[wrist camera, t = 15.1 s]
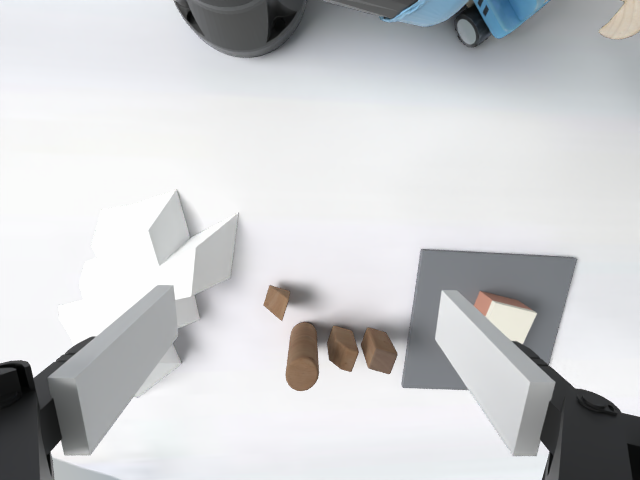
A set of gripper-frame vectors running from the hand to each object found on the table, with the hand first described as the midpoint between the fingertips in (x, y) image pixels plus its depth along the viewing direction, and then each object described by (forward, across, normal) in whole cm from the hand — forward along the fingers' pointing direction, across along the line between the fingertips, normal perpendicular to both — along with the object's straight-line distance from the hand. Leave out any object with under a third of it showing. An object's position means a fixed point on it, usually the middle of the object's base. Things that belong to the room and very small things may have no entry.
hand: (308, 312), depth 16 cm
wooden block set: (+28, +2, -17) cm, 33 cm away
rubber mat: (+28, +26, -16) cm, 42 cm away
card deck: (+27, +26, -16) cm, 41 cm away
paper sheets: (+29, -23, -12) cm, 39 cm away
